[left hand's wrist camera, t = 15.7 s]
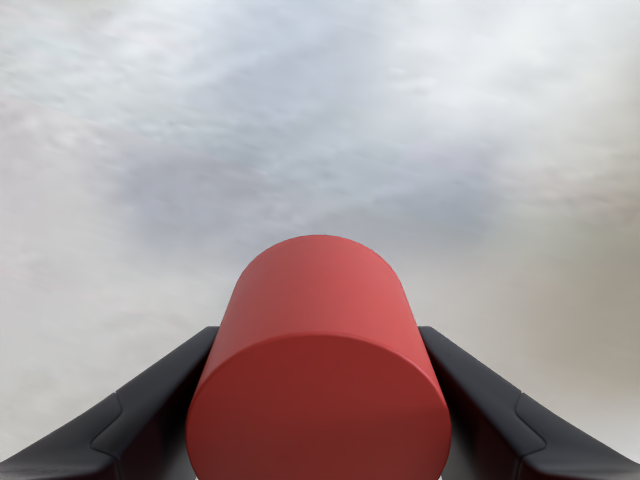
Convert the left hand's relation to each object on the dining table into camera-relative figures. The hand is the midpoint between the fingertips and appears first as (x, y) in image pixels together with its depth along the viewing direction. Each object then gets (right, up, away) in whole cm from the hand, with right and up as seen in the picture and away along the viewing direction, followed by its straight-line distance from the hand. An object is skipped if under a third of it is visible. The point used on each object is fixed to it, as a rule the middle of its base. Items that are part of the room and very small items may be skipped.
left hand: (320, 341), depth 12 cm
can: (0, 0, +1) cm, 1 cm away
